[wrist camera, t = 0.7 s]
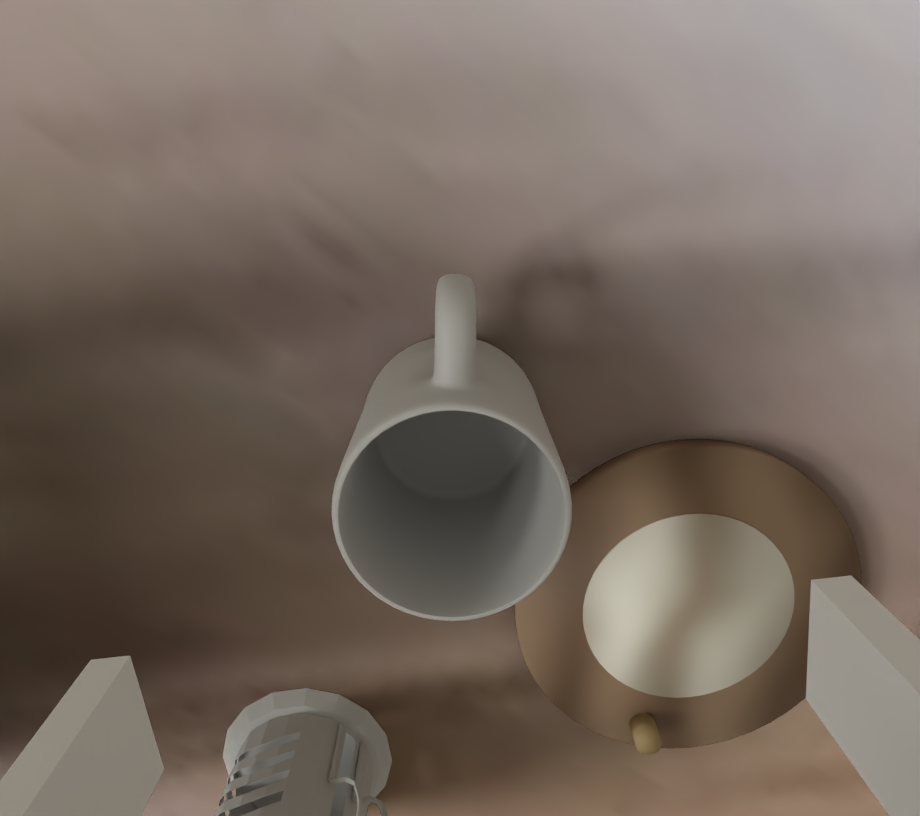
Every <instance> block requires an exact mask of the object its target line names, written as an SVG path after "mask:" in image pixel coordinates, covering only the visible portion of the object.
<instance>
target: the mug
mask: <svg viewBox="0 0 920 816" xmlns="http://www.w3.org/2000/svg"><path fill="white" fill-rule="evenodd" d="M571 521H572V500H571V492H570V486H569V483H568V479H567V476H566V472H565V469H564V467H563V464H562V462H561V459H560V457H559V454H558V452H557V449H556V447H555V444H554V442H553V439H552V437H551V434H550V432H549V429H548V427H547V424H546V422H545V419H544V417H543V414H542V412H541V409H540V406H539V403H538V400H537V397H536V394H535V392H534V389H533V387H532V385H531V383H530V381H529V379H528V378H527V376H526V375H525V373H524V372H523V370H522V369H521V368H520V367H519V365H518V364H517V363H516V362H515V361H514V360H513V359H512V358H510V357H509V356H508V355H507V354H505V353H504V352H503V351H501V350H500V349H498V348H496V347H494V346H492V345H491V344H489V343H486V342H483V341H481V340H478V339H476V294H475V287H474V283H473V281H472V280H471V278H470V277H468V276H466V275H463V274H456V273H455V274H447V275H445V276H442V277H441V278H440V279H439V280H438V283H437V287H436V302H435V338H430V339H427V340H423V341H420V342H418V343H416V344H413V345H411V346H409V347H407V348H406V349H404V350H403V351H401V352H400V353H398V354H397V355H396V356H395V357H393V358H392V359H391V360H390V361H389V362H388V363H387V364H386V365H385V366H384V368H383V369H382V370H381V372H380V373H379V375H378V376H377V377H376V379H375V381H374V383H373V385H372V387H371V389H370V391H369V394H368V397H367V399H366V402H365V406H364V409H363V411H362V414H361V416H360V419H359V421H358V424H357V426H356V429H355V431H354V434H353V436H352V439H351V441H350V444H349V446H348V449H347V451H346V454H345V456H344V459H343V461H342V464H341V466H340V469H339V472H338V475H337V478H336V481H335V486H334V491H333V496H332V523H333V530H334V534H335V538H336V542H337V545H338V547H339V549H340V552H341V554H342V557H343V558H344V560H345V562H346V564H347V565H348V567H349V569H350V570H351V571H352V573H353V574H354V575H355V577H356V578H357V579H358V580H359V581H360V582H361V583H362V584H363V585H364V587H365V588H366V589H367V590H369V591H370V592H371V593H372V594H374V595H375V596H376V597H378V598H379V599H380V600H382V601H384V602H385V603H387V604H389V605H390V606H392V607H394V608H396V609H399V610H401V611H403V612H405V613H408V614H412V615H415V616H418V617H422V618H427V619H433V620H443V621H461V620H470V619H476V618H481V617H485V616H488V615H492V614H495V613H497V612H500V611H502V610H505V609H507V608H509V607H511V606H513V605H515V604H516V603H518V602H520V601H521V600H523V599H524V598H526V597H527V596H528V595H530V594H531V593H532V592H533V591H535V590H536V589H537V588H538V587H539V586H540V585H541V584H542V583H543V582H544V581H545V579H546V578H547V577H548V576H549V575H550V574H551V572H552V571H553V569H554V568H555V566H556V564H557V563H558V561H559V560H560V557H561V555H562V553H563V551H564V549H565V546H566V543H567V540H568V536H569V533H570V527H571Z"/></svg>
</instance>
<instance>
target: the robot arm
mask: <svg viewBox="0 0 920 816" xmlns="http://www.w3.org/2000/svg"><path fill="white" fill-rule="evenodd" d="M806 700H807V702H808V703H809V704H810V706H811V707H812V709H813V710H814V711H815V713H816V714H817V716H818V717H819V718H820V720H821V721H822V723H823V724H824V725H825V727H826V728H827V730H828V731H829V732H830V734H831V735H832V737H833V738H834V739H835V741H836V742H837V744H838V745H839V746H840V748H841V749H842V751H843V752H844V753H845V755H846V756H847V758H848V759H849V760H850V762H851V763H852V765H853V766H854V767H855V769H856V770H857V772H858V773H859V774H860V776H861V777H862V779H863V780H864V781H865V783H866V784H867V786H868V787H869V788H870V790H871V791H872V793H873V794H874V795H875V797H876V798H877V800H878V801H879V802H880V804H881V805H882V807H883V808H884V809H885V811H886V812H887V814H888V815H889V816H920V640H919V639H918V638H917V637H916V636H915V635H914V634H913V633H912V632H911V631H910V630H909V629H908V628H906V627H905V626H904V625H903V624H902V623H901V622H900V621H899V620H898V619H897V618H896V617H895V616H894V615H893V614H892V613H891V612H889V611H888V610H887V609H886V608H885V607H884V606H883V605H882V604H881V603H880V602H879V601H878V600H877V599H876V598H875V597H874V596H872V595H871V594H870V593H869V592H868V591H867V590H866V589H865V588H864V587H863V586H862V585H861V584H860V583H859V582H858V581H857V580H856V579H854V578H853V577H852V576H851V575H850V576H841V577H832V578H823V579H814V580H811V591H810V614H809V636H808V659H807V681H806ZM163 770H164V767H163V764H162V760H161V757H160V754H159V750H158V747H157V744H156V740H155V737H154V734H153V730H152V727H151V724H150V720H149V717H148V714H147V710H146V707H145V704H144V700H143V697H142V694H141V690H140V687H139V683H138V680H137V677H136V673H135V670H134V667H133V663H132V660H131V657H130V655H129V656H120V657H111V658H102V659H93V660H90V661H89V663H88V664H87V665H86V667H85V668H84V669H83V671H82V672H81V673H80V675H79V676H78V678H77V679H76V680H75V682H74V683H73V684H72V686H71V687H70V688H69V690H68V691H67V692H66V694H65V695H64V696H63V698H62V699H61V700H60V702H59V703H58V704H57V706H56V707H55V708H54V710H53V711H52V712H51V714H50V715H49V716H48V718H47V719H46V720H45V722H44V723H43V724H42V726H41V727H40V728H39V730H38V731H37V732H36V734H35V735H34V736H33V738H32V739H31V740H30V742H29V743H28V744H27V746H26V747H25V748H24V750H23V751H22V752H21V754H20V755H19V756H18V758H17V759H16V760H15V762H14V763H13V764H12V766H11V767H10V768H9V770H8V771H7V772H6V774H5V775H4V776H3V778H2V779H1V780H0V816H142V814H143V812H144V810H145V808H146V806H147V804H148V802H149V800H150V797H151V795H152V793H153V791H154V789H155V787H156V785H157V783H158V781H159V779H160V777H161V775H162V772H163Z"/></svg>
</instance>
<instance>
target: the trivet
mask: <svg viewBox="0 0 920 816" xmlns="http://www.w3.org/2000/svg"><path fill="white" fill-rule="evenodd" d="M570 492H571V500H572V521H571V527H570V533H569V536H568V540H567V543H566V546H565V549H564V551H563V553H562V555H561V557H560V560H559V561H558V563H557V564H556V566H555V568H554V569H553V571H552V572H551V574H550V575H549V576H548V577H547V578H546V579H545V581H544V582H543V583H542V584H541V585H540V586H539V587H538V588H537V589H536V590H535V591H533V592H532V593H531V594H530V595H528V596H527V597H526V598H524V599H523V600H521V601H520V602H518V603H516V604H515V605H514V614H515V621H516V627H517V633H518V639H519V644H520V648H521V651H522V654H523V657H524V660H525V662H526V664H527V666H528V668H529V670H530V672H531V674H532V676H533V678H534V680H535V681H536V682H537V684H538V685H539V687H540V688H541V689H542V691H543V692H544V694H545V695H546V696H547V697H548V698H549V699H550V700H551V701H552V702H553V703H554V704H555V705H556V706H557V707H558V708H559V709H560V710H561V711H563V712H564V713H565V714H566V715H568V716H569V717H570V718H571V719H573V720H574V721H576V722H578V723H579V724H581V725H583V726H584V727H586V728H588V729H590V730H592V731H594V732H596V733H599V734H601V735H603V736H605V737H608V738H611V739H614V740H618V741H621V742H624V743H628V744H634V745H636V748H637V750H638V751H639V752H641V753H643V754H653V753H656V752H657V751H659V750H660V748H689V747H696V746H703V745H710V744H714V743H718V742H722V741H726V740H730V739H733V738H735V737H738V736H741V735H744V734H746V733H749V732H752V731H754V730H756V729H758V728H760V727H762V726H764V725H766V724H768V723H770V722H772V721H773V720H775V719H776V718H778V717H780V716H781V715H783V714H785V713H786V712H788V711H789V710H790V709H792V708H793V707H794V706H796V705H797V704H798V703H799V702H801V701H802V700H803V699H804V698H806V681H807V659H808V636H809V614H810V591H811V580H814V579H823V578H832V577H841V576H850V575H851V576H852V577H853V578H854V579H856V580H857V581H858V582H859V583H860V584H861V567H860V560H859V554H858V551H857V547H856V544H855V541H854V538H853V535H852V533H851V531H850V529H849V527H848V525H847V523H846V521H845V519H844V517H843V516H842V514H841V513H840V511H839V510H838V509H837V507H836V506H835V505H834V503H833V502H832V500H831V499H830V498H829V497H828V496H827V495H826V494H825V493H824V492H823V491H822V490H821V489H820V488H819V487H818V486H817V485H815V484H814V483H813V482H812V481H810V480H809V479H808V478H807V477H806V476H804V475H803V474H802V473H800V472H799V471H797V470H796V469H795V468H793V467H792V466H791V465H789V464H788V463H786V462H784V461H782V460H780V459H779V458H777V457H775V456H773V455H771V454H769V453H766V452H764V451H761V450H758V449H755V448H753V447H750V446H746V445H742V444H737V443H733V442H728V441H720V440H709V439H690V440H676V441H669V442H663V443H657V444H653V445H650V446H646V447H643V448H639V449H635V450H632V451H630V452H628V453H625V454H623V455H620V456H618V457H616V458H613V459H611V460H609V461H607V462H606V463H604V464H602V465H600V466H599V467H597V468H595V469H593V470H591V471H590V472H589V473H587V474H586V475H585V476H583V477H582V478H580V479H579V480H578V481H576V482H575V483H574V484H572V485H571V486H570Z"/></svg>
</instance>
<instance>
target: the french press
mask: <svg viewBox="0 0 920 816" xmlns="http://www.w3.org/2000/svg"><path fill="white" fill-rule="evenodd" d="M223 759H224V762H225V765H226V768H227V771H228V774H229V777H228V779H227V787H226V788H225V789H224V790H223V793H222V796H221V799H220V804H219V807H218V809H217V810H216V811H215V814H214V816H218V815H219V816H225V811H228V810H229V811H230V814H229V816H367V810H368V805H369V804H370V803H371V802H372V803H374V804H376V805H378V806H379V809H380V813H381V816H387V811H386V809H385V807H384V805H383V803H382V801H381V800H380V799H377V798H375V797H376V796H377V795H378V794H379V793H380V792H381V791H382V789H383V788H384V787H385V786H386V782H387V779H388V775H389V771H390V767H391V764H392V757H391V753H390V748H389V744H388V739H387V735H386V733H385V732H384V731H383V729H382V728H381V727H380V726H379V724H378V723H377V722H376V721H375V719H374V718H373V717H372V715H371V714H370V713H369V712H368V711H367V710H366V709H364V708H362V707H360V706H359V705H357V704H355V703H353V702H352V701H350V700H348V699H347V698H345V697H343V696H341V695H340V694H335V693H330V692H324V691H319V690H314V689H309V688H302V689H294V690H287V691H279V692H272V693H271V694H269V695H267V696H265V697H263V698H261V699H259V700H257V701H256V702H254V703H252V704H250V705H248V706H246V707H245V708H244V709H243V710H242V712H241V713H240V714H239V715H238V717H237V718H236V719H235V721H234V722H233V723H232V724H231V726H230V727H229V728H228V730H227V735H226V740H225V746H224V751H223ZM230 781H231V782H230ZM234 789H236V797H234V798H233V797H232V792H231V790H234ZM225 794H226V798H227V800H226V801H224V802H223V798H224V795H225Z"/></svg>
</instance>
